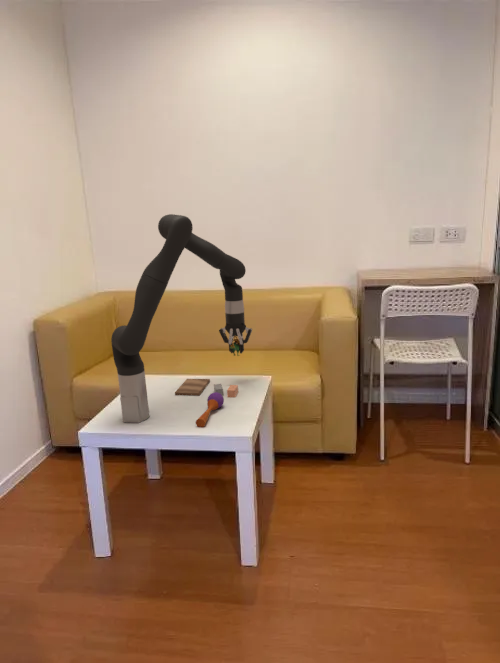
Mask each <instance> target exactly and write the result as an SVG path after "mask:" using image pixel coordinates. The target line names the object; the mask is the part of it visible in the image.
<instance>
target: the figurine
mask: <svg viewBox="0 0 500 663" xmlns="http://www.w3.org/2000/svg"><path fill="white" fill-rule="evenodd" d="M232 343H233V344H232V345H231V347H230V348H232V349H233V353H232V354H233V357H235V356H236V354H235V352H236V353H237V357H239V356H241V355H240V354H242V353H240V341H239V339H238V336H234V337H233V342H232Z"/></svg>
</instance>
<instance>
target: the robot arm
mask: <svg viewBox="0 0 500 663" xmlns="http://www.w3.org/2000/svg"><path fill="white" fill-rule="evenodd" d="M157 228H158V233H159V234H160V236H161V237H162V238H163V239H164V240H165V241H164V243H163V246H162V248H161V250H160V251H159V252H158V254H157V255H156V256H155V258H153V259H152V260H151V261H150V262H149V264H147V265H146V266H145V268H144V270H143V272H142V274H141V276H140V279H139V281H138V283H137V285H136V289H135V295H134V303H133V309H132V313H131V316H130V318H129V319H128V322H127V324H126V325H124V324H123V325H119V326H118V327H117V328H115V329H114V330H113V332H112V335H111V341H110V343H111V350H112V355H113V356H112V357H113V362H114V365H115V367H116V372H117V378H118V380H117V381H118V388H119V396H120V406H121V416H122V422H123V423H138V424H139V423H141V422H143V421H145V420H147V419H148V418H149V417H150V409H149V408H150V407H149V399H148V397H149V396H148V389H147V381H146V380H147V379H146V371H145V364H144V361H143V359H142V357H141V354H140V352H141V351H142V349H143V348H144V346H145V343H146V340H147V336H148V332H149V330H150V327H151V323H152V321H153V318H154V316H155V314H156V312H157V309H158V308H159V305H160V302H161V300H162V298H163V296H164V293H165V291H166V289H167V287H168V284H169V282H170V279H171V277H172V274H173V272H174V270H175V267H176V265H177V264H178V261H179V258H180V257H181V255H182V254H183V251H184V250H185V249H186V250H187V251H189V252H190V253H192V254H194V255H195V256H196V257H198V258H199V259H201V260H202V261H204V262H205V263H206V264H207V265H209V266H211V267H212V268H214V269H217V270H219V277H220V280H221V282H222V286H223V290H224V300H225V302H224V314H225V326H224V327H220V329H219V330H218V333H219V334H220V336H221V339H222V340H223V342H224V344H228V351H229V352H230V354H233V349H232V348H230V347H231V345H232V344H233V343H234V341H233V340H234V338H235V337H234V336H236V337H237V339H239V341H240V351H239V354H240V353H241V354H243V353H244V351H245V344H247V343H248V342H249V340H250V336H251V334H252V332H253V328H252V327H247V325H246V322H245V321H246V320H245V305H244V294H243V287H242V285H240V284H238V283H237V282H236V280H240V279H242V278H243V277H245V275H246V273H247V272H246V267H245V265H244V263H243V262H242V261H241V260H240V259H238V258H236V257H234V256H232V255H229V254H228V253H225V251H224V250H222V249H221V248H219V247H217V245H215V244H213V243H211V242H210V241H208V240H206V239H204V238H202V237H199V236H198V235H196V234H195V233H193V223H192V220H191V219H190V218H189V217H187V216H186V215H181V214H173V213H171V214H170V213H169V214H165V215H163V216H162V217H160V219H159V221H158V224H157ZM226 332H227V333H228V335H229V336H227V333H226ZM243 333H246V335H245V338H244V334H243Z"/></svg>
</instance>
